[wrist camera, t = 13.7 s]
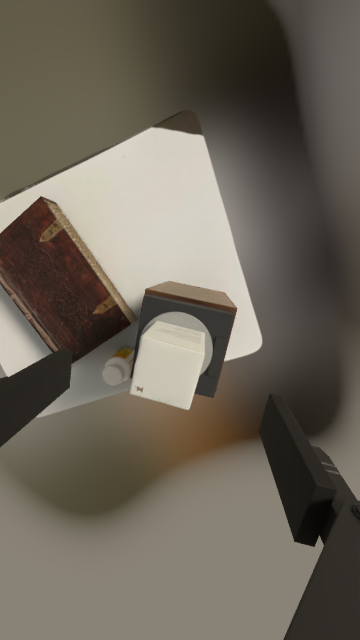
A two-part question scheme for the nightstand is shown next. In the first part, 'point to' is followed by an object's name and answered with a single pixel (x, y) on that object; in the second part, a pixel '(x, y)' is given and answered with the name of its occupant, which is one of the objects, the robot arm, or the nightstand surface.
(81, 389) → the nightstand surface
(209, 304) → the riser
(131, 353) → the supplement bottle
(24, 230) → the hardback book
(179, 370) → the product box
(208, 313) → the scale
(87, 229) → the nightstand surface
